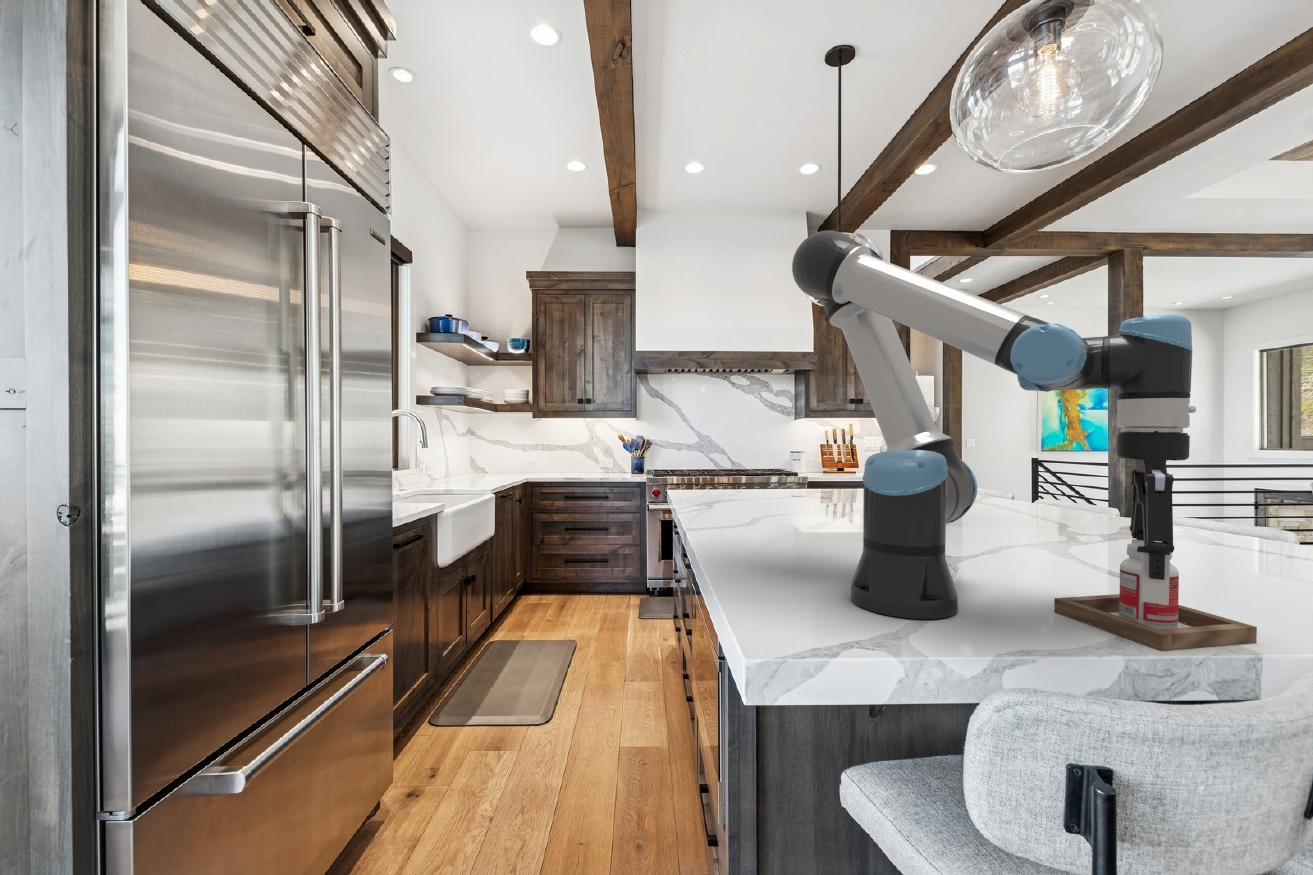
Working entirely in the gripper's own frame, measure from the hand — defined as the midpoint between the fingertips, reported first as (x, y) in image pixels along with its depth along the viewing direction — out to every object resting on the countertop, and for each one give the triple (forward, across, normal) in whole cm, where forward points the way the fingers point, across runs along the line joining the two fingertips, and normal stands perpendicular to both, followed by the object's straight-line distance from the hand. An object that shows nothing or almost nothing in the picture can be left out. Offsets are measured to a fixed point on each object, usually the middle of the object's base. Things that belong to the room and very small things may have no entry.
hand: (1148, 593), depth 79 cm
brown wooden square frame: (+5, 0, 0) cm, 5 cm away
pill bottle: (+5, 0, 0) cm, 5 cm away
